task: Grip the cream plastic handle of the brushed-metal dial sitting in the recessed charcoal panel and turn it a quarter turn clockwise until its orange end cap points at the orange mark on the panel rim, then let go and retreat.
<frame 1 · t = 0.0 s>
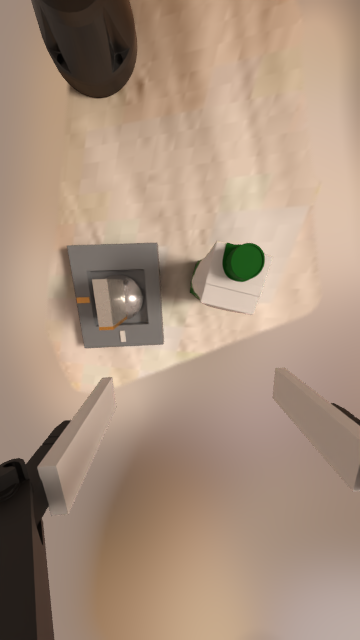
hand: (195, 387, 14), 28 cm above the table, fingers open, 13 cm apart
panel: (122, 297, 39), on the table
dial: (113, 300, 34), point 6 cm above the table, hinge at 0.0°
milk carton: (207, 280, 40), on the table
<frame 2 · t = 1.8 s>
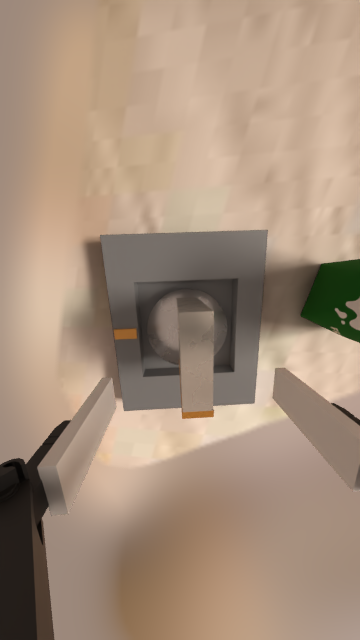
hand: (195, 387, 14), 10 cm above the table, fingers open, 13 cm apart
panel: (186, 325, 23), on the table
dial: (190, 340, 18), point 6 cm above the table, hinge at 0.0°
milk carton: (331, 297, 23), on the table
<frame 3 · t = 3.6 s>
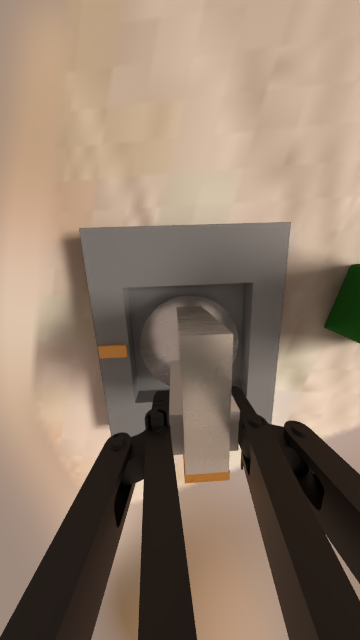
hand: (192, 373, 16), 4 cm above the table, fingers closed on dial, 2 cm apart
panel: (187, 338, 19), on the table
dial: (194, 362, 14), point 6 cm above the table, hinge at 0.0°, touching gripper
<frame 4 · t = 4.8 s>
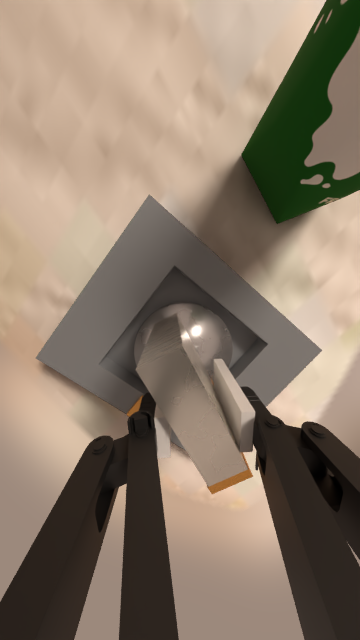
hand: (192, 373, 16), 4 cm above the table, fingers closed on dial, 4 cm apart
panel: (182, 345, 19), on the table
dial: (187, 371, 14), point 6 cm above the table, hinge at -24.6°, touching gripper
milk carton: (289, 170, 16), on the table
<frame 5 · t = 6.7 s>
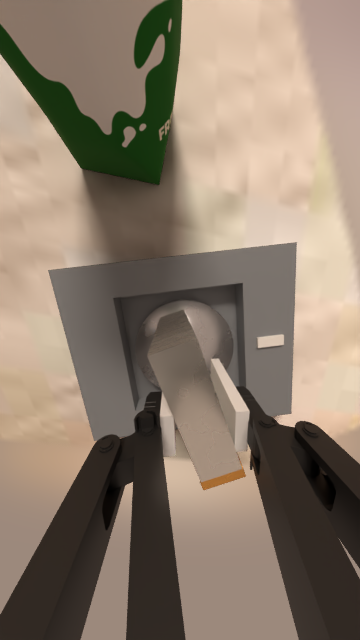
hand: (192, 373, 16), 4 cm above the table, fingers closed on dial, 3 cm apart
panel: (183, 342, 19), on the table
dial: (188, 367, 14), point 6 cm above the table, hinge at -77.1°, touching gripper
milk carton: (125, 135, 15), on the table
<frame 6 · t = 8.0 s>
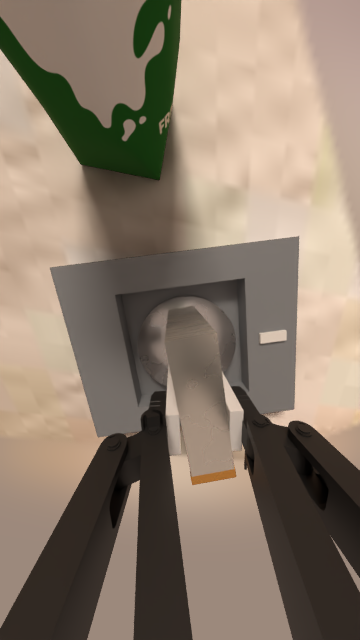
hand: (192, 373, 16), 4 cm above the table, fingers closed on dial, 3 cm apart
panel: (185, 339, 19), on the table
dial: (191, 363, 14), point 6 cm above the table, hinge at -87.5°, touching gripper
milk carton: (125, 129, 15), on the table
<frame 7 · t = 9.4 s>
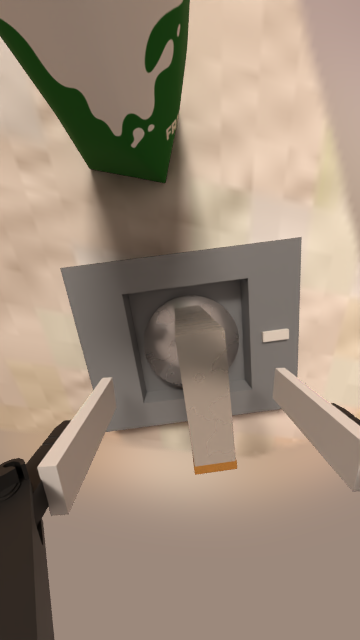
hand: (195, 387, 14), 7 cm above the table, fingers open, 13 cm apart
panel: (189, 337, 20), on the table
dial: (196, 360, 14), point 6 cm above the table, hinge at -89.3°
milk carton: (132, 135, 16), on the table
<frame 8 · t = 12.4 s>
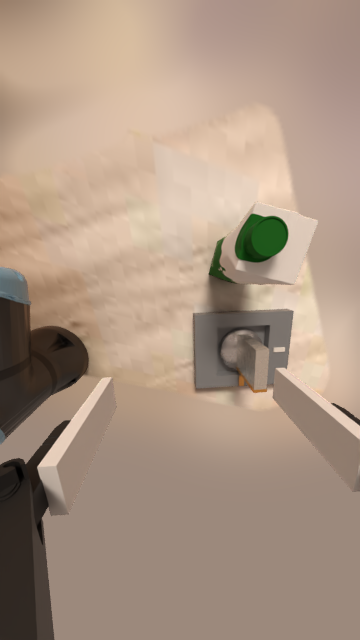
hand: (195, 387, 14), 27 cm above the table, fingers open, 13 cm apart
panel: (238, 347, 42), on the table
dial: (249, 357, 36), point 6 cm above the table, hinge at -89.3°
milk carton: (228, 262, 38), on the table
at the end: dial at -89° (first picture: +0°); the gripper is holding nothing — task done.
